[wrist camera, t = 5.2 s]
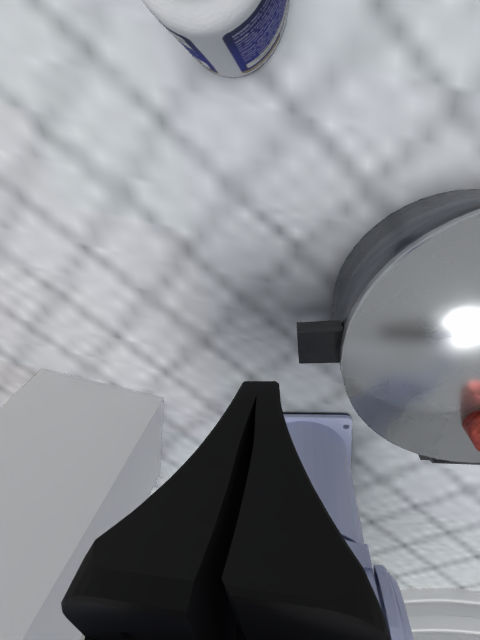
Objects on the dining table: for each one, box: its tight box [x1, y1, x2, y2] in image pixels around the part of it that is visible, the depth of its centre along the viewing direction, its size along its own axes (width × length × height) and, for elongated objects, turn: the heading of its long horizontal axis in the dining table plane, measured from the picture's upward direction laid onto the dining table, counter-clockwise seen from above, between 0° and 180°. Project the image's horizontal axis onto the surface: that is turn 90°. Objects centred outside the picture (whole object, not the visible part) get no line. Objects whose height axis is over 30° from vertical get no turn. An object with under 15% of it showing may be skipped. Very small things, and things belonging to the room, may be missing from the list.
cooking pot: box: [297, 189, 480, 460], centre depth 17 cm, size 14×18×6 cm
